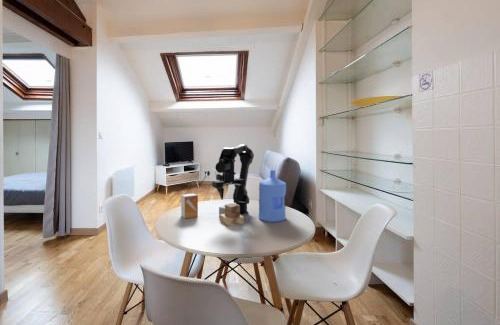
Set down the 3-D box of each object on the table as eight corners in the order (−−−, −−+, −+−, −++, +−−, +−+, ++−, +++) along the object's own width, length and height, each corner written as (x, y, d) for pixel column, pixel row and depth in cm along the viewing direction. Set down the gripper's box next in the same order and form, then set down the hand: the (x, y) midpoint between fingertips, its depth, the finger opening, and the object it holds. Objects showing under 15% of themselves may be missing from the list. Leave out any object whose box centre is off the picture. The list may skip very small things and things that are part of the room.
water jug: (254, 219, 146) (254, 171, 143) (265, 212, 159) (266, 168, 157) (279, 224, 138) (280, 173, 136) (289, 216, 152) (290, 170, 149)
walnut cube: (233, 213, 145) (233, 203, 145) (239, 216, 141) (239, 205, 140) (224, 215, 142) (224, 204, 141) (230, 218, 137) (230, 207, 136)
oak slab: (235, 218, 148) (235, 212, 148) (243, 224, 140) (244, 216, 139) (219, 221, 143) (219, 214, 143) (227, 227, 135) (227, 219, 134)
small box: (184, 219, 146) (184, 196, 144) (181, 216, 151) (180, 194, 150) (198, 216, 150) (197, 195, 149) (194, 214, 155) (193, 193, 154)
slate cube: (226, 214, 155) (226, 204, 154) (233, 216, 151) (233, 206, 151) (219, 216, 150) (219, 206, 150) (226, 219, 147) (226, 208, 146)
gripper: (235, 167, 153) (235, 193, 154) (207, 170, 142) (207, 197, 143) (246, 169, 144) (246, 197, 145) (216, 172, 133) (217, 201, 134)
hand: (229, 198), depth 142 cm, fingers open, 9 cm apart
